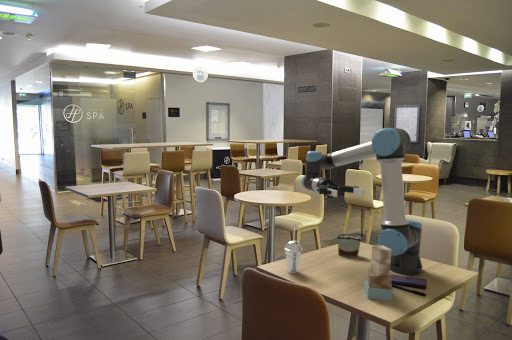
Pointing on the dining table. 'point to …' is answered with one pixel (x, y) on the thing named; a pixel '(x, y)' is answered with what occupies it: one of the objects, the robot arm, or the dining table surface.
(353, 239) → the food container
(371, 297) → the teal block
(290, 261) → the cup with straw
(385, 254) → the oak pillar
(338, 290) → the dining table surface
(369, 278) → the walnut block
